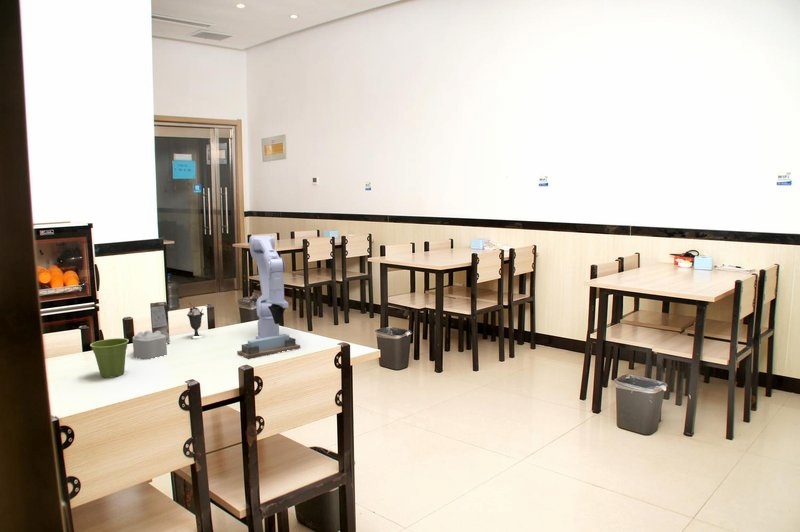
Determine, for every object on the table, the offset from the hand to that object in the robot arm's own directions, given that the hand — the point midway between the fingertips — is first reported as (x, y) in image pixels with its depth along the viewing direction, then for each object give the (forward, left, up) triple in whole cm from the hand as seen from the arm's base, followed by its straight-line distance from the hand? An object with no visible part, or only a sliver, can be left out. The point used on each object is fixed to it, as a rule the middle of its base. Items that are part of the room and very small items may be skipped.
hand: (277, 323), depth 238 cm
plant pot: (-6, -60, -10) cm, 61 cm away
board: (+3, -6, -9) cm, 12 cm away
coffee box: (-40, -32, -10) cm, 52 cm away
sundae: (-38, -18, -10) cm, 43 cm away
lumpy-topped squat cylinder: (-24, -42, -10) cm, 49 cm away
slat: (+3, -6, -8) cm, 11 cm away
